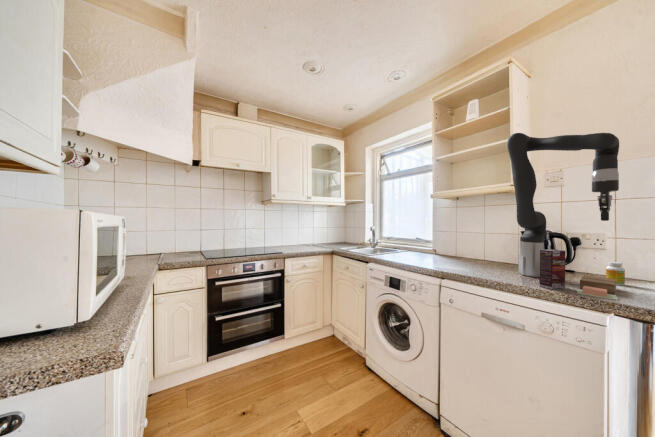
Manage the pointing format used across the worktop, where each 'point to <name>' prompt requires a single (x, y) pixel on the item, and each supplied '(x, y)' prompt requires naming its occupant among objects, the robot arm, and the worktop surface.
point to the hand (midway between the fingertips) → (604, 220)
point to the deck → (599, 283)
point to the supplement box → (552, 268)
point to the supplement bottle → (616, 272)
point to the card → (594, 291)
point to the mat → (599, 296)
